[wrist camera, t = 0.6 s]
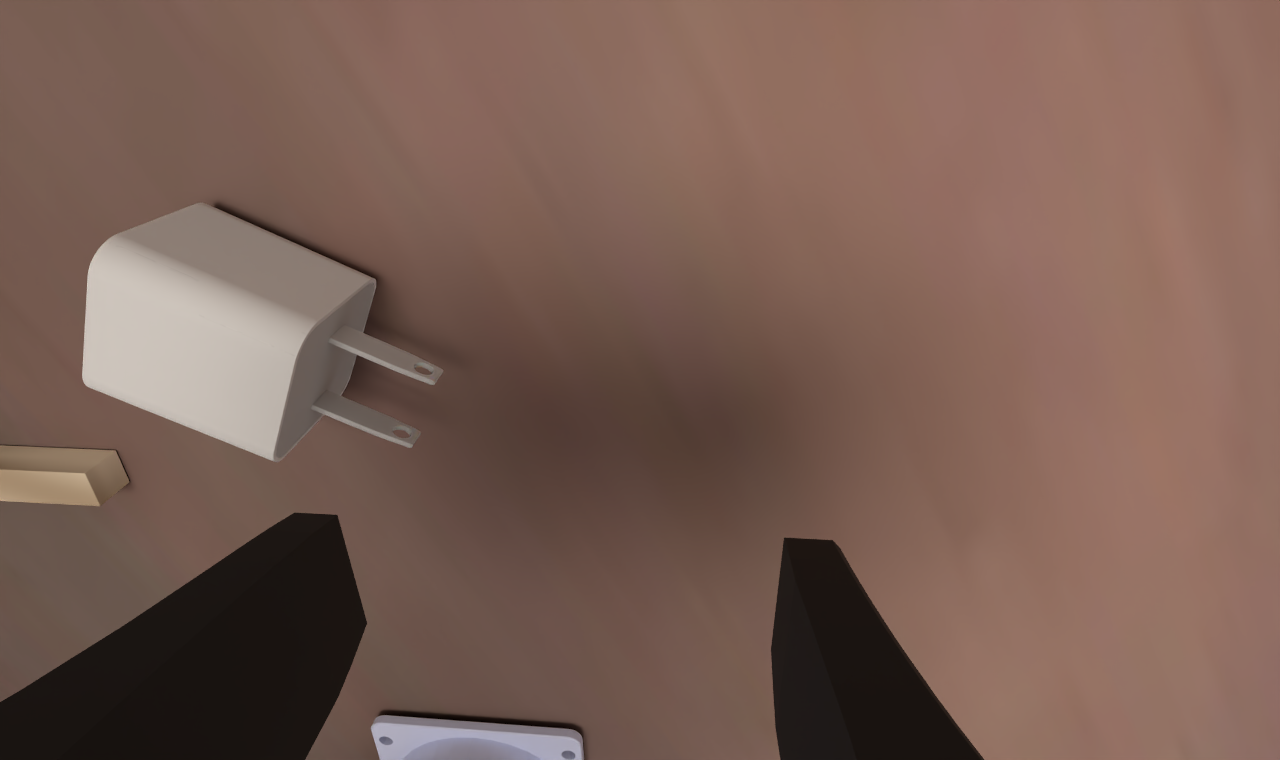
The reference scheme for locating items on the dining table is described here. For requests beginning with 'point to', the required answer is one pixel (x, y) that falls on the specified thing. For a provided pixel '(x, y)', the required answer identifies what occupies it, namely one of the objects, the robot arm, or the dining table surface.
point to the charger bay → (59, 475)
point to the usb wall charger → (233, 332)
